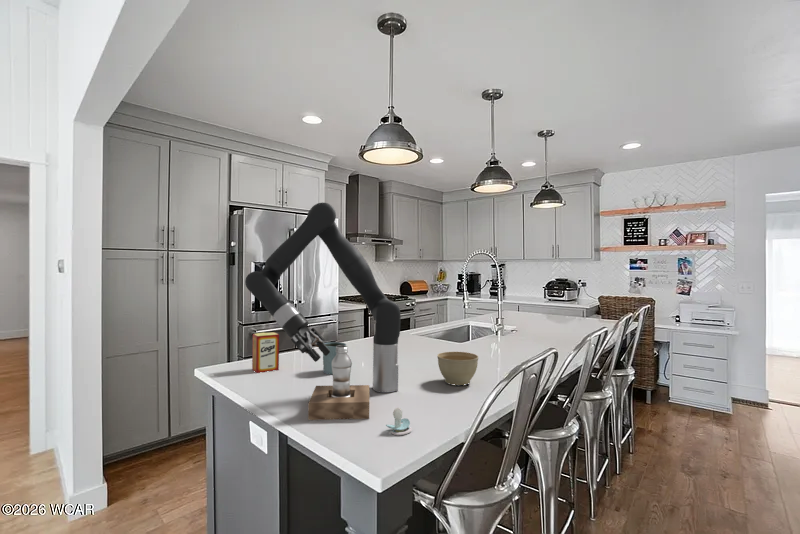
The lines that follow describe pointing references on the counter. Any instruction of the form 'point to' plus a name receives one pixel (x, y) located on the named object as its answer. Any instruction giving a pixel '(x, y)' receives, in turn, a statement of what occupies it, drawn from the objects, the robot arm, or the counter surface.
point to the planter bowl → (457, 366)
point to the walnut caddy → (339, 404)
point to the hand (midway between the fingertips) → (323, 356)
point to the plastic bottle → (341, 372)
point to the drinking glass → (330, 356)
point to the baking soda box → (265, 352)
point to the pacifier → (398, 426)
